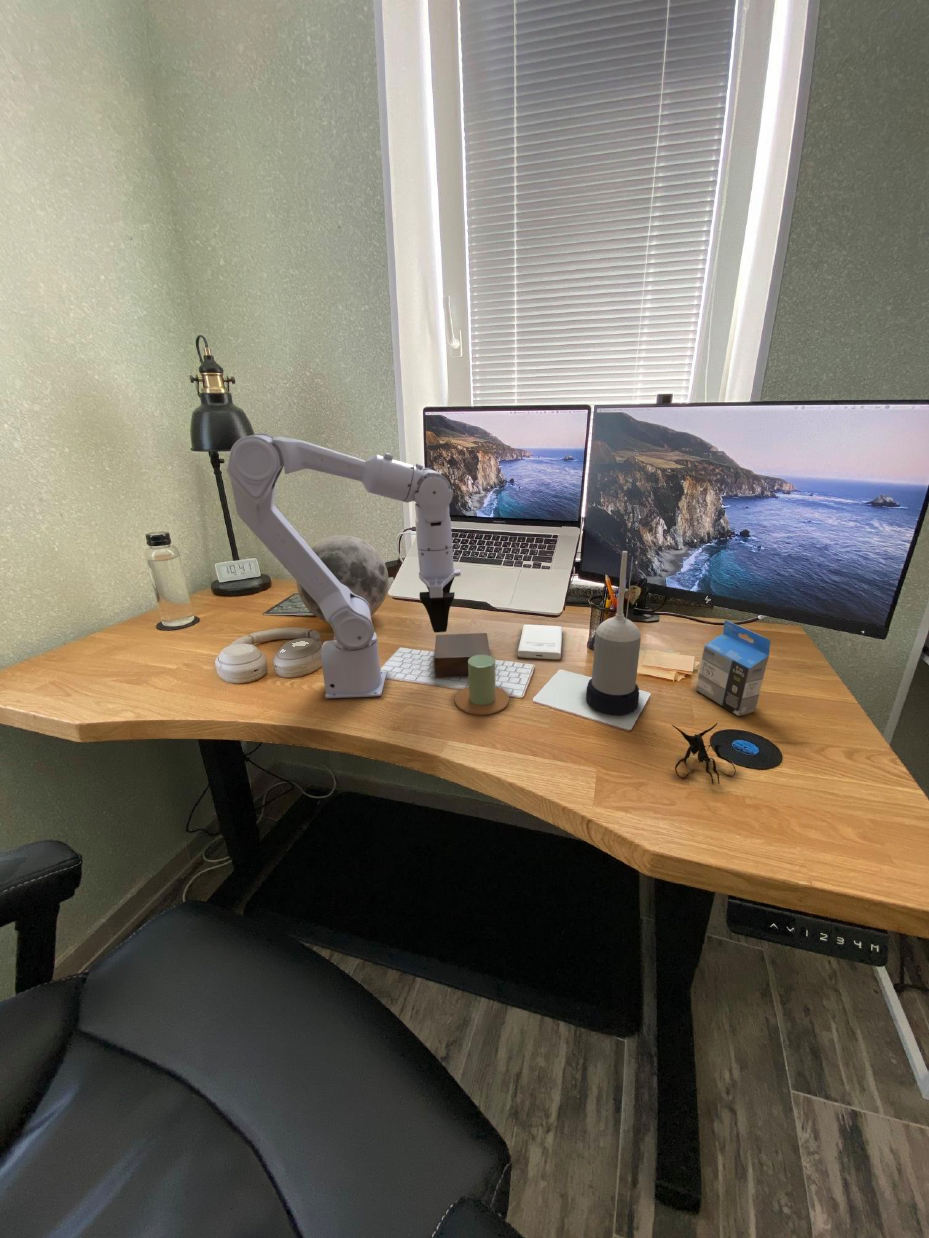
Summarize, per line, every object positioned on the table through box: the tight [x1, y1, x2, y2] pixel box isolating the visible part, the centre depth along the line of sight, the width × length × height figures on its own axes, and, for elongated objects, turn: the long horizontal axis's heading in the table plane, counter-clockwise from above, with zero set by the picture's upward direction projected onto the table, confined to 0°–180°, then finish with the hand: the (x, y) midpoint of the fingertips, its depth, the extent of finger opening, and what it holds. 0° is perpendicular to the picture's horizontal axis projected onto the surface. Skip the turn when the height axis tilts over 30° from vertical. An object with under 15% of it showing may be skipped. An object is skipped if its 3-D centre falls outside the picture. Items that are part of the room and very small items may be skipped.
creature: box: [671, 722, 737, 786], centre depth 65 cm, size 8×5×8 cm
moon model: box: [295, 534, 389, 623], centre depth 113 cm, size 20×20×20 cm
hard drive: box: [517, 624, 563, 660], centre depth 102 cm, size 2×8×12 cm
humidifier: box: [585, 550, 642, 717], centre depth 77 cm, size 8×8×25 cm
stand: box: [433, 632, 491, 679], centre depth 95 cm, size 10×10×4 cm
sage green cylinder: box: [467, 655, 496, 705], centre depth 82 cm, size 4×4×7 cm
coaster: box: [454, 685, 510, 716], centre depth 84 cm, size 9×9×1 cm
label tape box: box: [695, 619, 772, 717], centre depth 79 cm, size 9×4×12 cm, turn 21°
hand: (440, 622), depth 88 cm, fingers open, 7 cm apart
